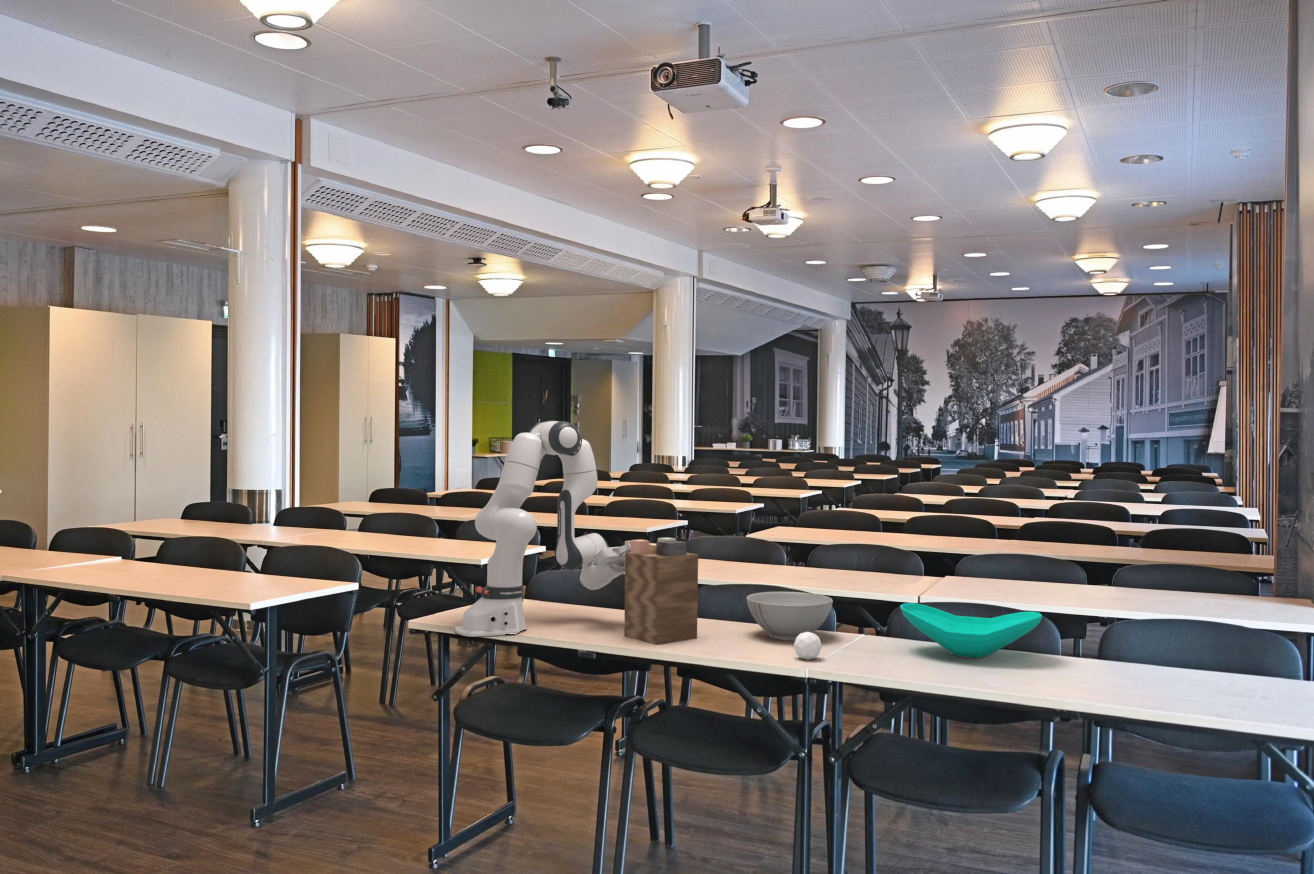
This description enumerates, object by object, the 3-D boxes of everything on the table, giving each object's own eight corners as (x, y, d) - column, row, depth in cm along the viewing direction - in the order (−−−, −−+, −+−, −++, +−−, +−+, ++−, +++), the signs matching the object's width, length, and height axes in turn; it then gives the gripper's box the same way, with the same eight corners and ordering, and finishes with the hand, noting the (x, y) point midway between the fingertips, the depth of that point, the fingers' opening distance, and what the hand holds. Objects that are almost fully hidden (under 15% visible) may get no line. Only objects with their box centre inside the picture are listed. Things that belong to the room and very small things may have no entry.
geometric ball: (811, 670, 295) (812, 651, 290) (787, 656, 299) (788, 637, 294) (826, 653, 300) (828, 634, 295) (803, 640, 304) (804, 621, 299)
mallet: (620, 549, 335) (620, 536, 335) (637, 547, 339) (637, 535, 339) (669, 556, 317) (669, 543, 317) (686, 555, 321) (686, 542, 321)
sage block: (657, 550, 332) (657, 538, 332) (667, 549, 334) (667, 537, 334) (666, 552, 329) (666, 539, 329) (675, 551, 331) (675, 538, 331)
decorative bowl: (732, 639, 323) (733, 600, 323) (765, 625, 347) (765, 589, 347) (815, 648, 311) (816, 608, 311) (843, 633, 334) (844, 595, 334)
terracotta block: (630, 553, 325) (630, 540, 324) (640, 552, 327) (640, 539, 327) (638, 554, 321) (639, 541, 321) (648, 553, 324) (649, 540, 324)
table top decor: (1042, 652, 310) (1043, 607, 310) (1040, 672, 284) (1041, 623, 284) (906, 640, 324) (906, 598, 324) (892, 658, 299) (893, 612, 299)
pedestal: (624, 636, 326) (625, 552, 326) (663, 630, 336) (664, 549, 336) (657, 644, 314) (658, 557, 314) (697, 638, 324) (698, 554, 324)
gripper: (585, 555, 337) (608, 537, 328) (634, 551, 351) (658, 533, 341) (591, 573, 335) (614, 555, 326) (640, 568, 348) (664, 551, 339)
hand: (637, 544), depth 334 cm, fingers open, 4 cm apart
